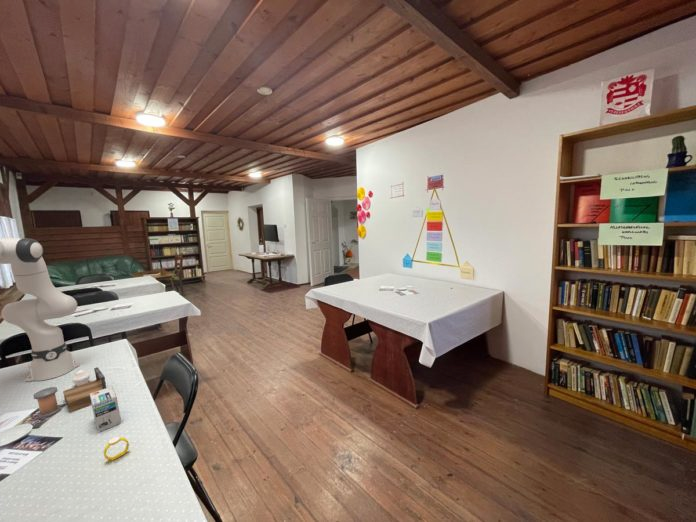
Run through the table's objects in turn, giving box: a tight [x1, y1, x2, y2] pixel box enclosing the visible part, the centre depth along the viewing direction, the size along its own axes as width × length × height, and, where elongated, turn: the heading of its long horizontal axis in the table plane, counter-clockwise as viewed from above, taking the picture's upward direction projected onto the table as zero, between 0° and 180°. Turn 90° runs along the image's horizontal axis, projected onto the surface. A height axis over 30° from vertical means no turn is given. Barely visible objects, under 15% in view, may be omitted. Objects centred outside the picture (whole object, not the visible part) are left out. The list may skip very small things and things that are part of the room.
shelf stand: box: [62, 366, 107, 413], centre depth 120 cm, size 14×12×10 cm
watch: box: [103, 436, 130, 461], centre depth 89 cm, size 6×3×6 cm, turn 138°
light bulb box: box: [90, 385, 122, 433], centre depth 105 cm, size 11×7×11 cm, turn 47°
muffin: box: [71, 369, 91, 387], centre depth 132 cm, size 6×6×7 cm
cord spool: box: [32, 386, 62, 419], centre depth 112 cm, size 6×6×9 cm
